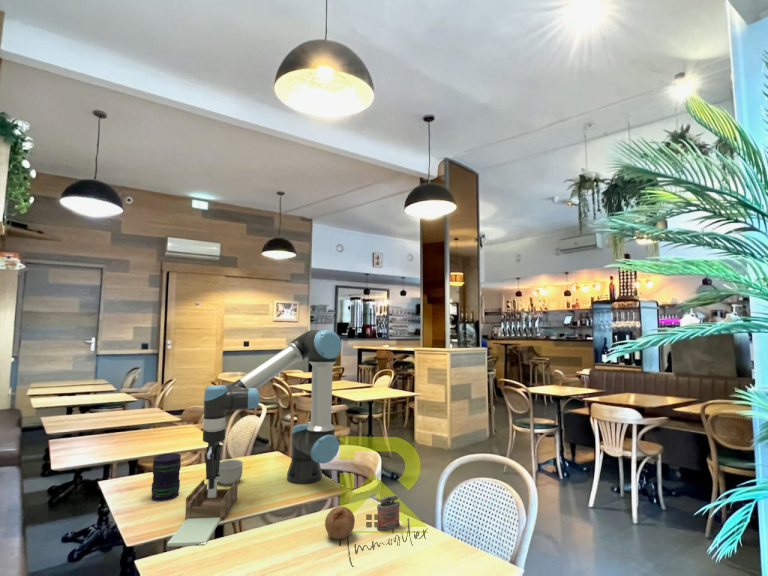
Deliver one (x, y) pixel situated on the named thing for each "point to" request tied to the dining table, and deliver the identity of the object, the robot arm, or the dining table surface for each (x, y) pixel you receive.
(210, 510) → the box
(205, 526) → the lid
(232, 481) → the teacup
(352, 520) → the brown rounded piece
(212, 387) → the robot arm
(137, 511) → the dining table surface
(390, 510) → the lighter
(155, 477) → the dark blue barrel
